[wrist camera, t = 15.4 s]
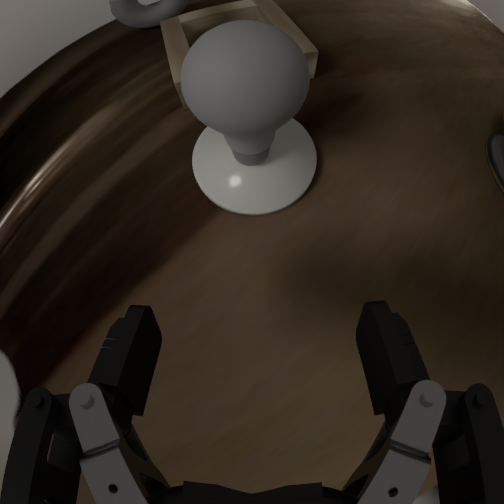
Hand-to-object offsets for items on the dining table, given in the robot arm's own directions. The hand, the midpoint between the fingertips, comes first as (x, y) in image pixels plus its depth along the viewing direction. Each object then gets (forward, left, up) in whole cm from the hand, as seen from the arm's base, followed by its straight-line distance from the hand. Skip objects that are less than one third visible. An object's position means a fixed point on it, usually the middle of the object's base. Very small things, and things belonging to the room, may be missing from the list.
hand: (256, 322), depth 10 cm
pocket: (+5, +24, -8) cm, 26 cm away
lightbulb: (+3, +11, -7) cm, 13 cm away
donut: (-1, +36, -8) cm, 37 cm away
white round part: (+3, +11, -8) cm, 14 cm away
